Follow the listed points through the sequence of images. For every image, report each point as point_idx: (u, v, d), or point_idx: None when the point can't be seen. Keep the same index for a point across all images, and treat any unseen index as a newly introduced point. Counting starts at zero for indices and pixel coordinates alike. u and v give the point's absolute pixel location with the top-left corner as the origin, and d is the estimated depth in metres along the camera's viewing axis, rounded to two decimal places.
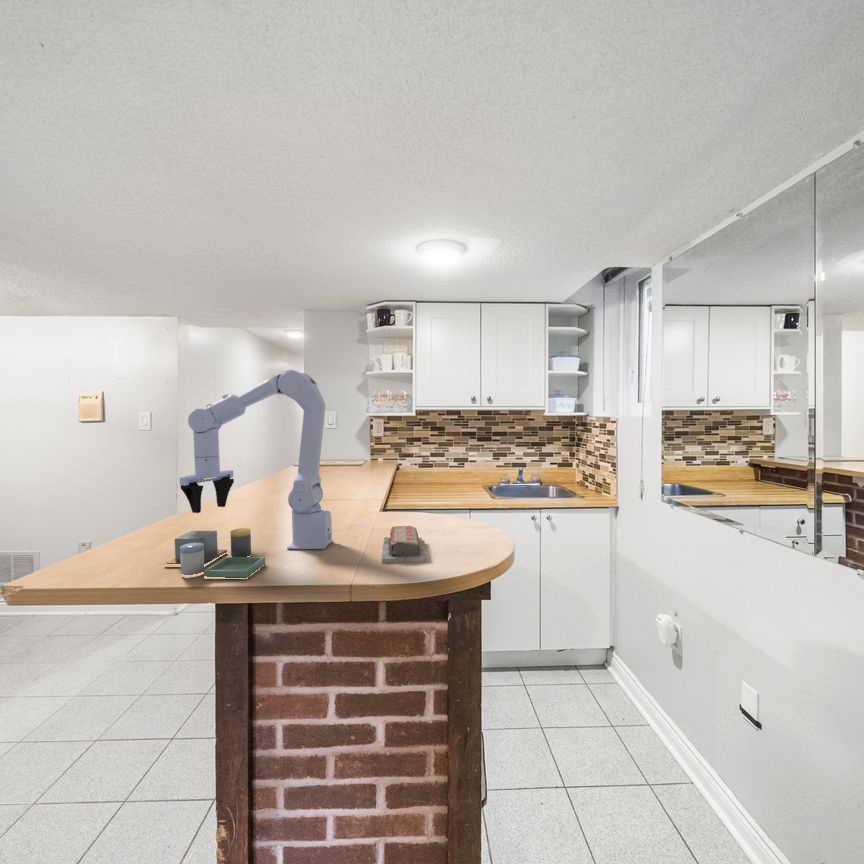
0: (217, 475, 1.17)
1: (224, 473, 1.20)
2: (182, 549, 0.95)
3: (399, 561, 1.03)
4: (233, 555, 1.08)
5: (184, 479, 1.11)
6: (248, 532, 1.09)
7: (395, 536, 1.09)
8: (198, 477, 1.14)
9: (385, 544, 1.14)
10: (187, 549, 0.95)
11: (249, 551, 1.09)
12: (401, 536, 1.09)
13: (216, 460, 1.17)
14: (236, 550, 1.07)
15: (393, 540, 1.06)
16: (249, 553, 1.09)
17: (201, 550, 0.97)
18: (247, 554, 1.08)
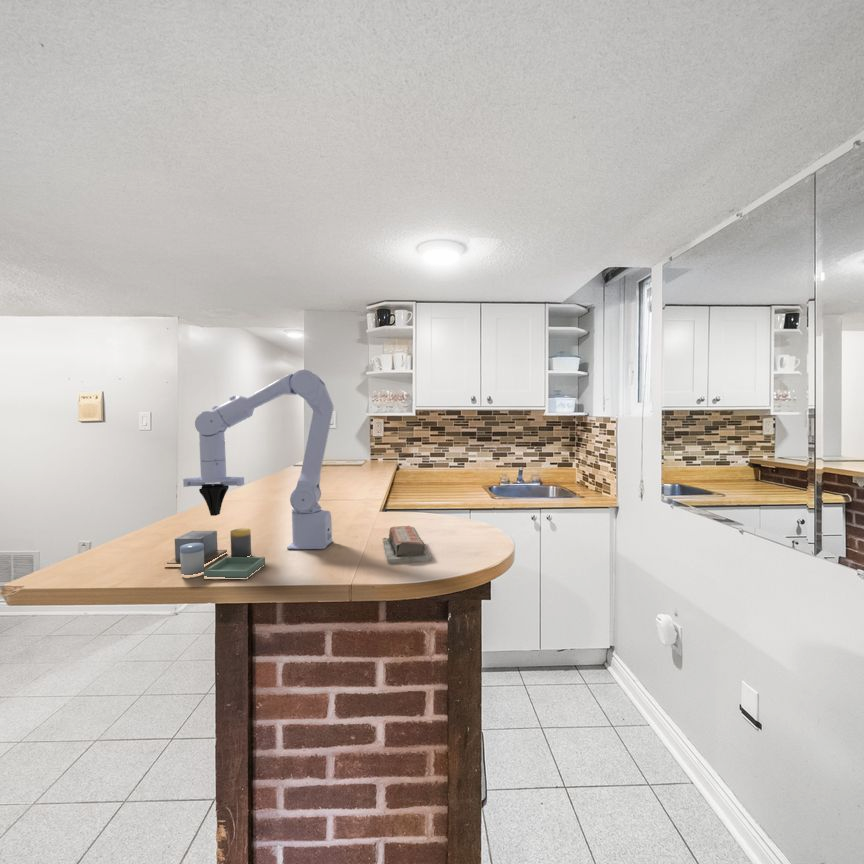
0: (208, 481, 1.12)
1: (223, 480, 1.13)
2: (182, 549, 0.95)
3: (405, 561, 1.03)
4: (233, 555, 1.08)
5: None
6: (248, 532, 1.09)
7: (398, 536, 1.09)
8: (193, 480, 1.13)
9: (386, 545, 1.13)
10: (187, 549, 0.95)
11: (249, 551, 1.09)
12: (404, 536, 1.09)
13: (209, 465, 1.12)
14: (236, 550, 1.07)
15: (397, 540, 1.05)
16: (249, 553, 1.09)
17: (201, 550, 0.97)
18: (247, 554, 1.08)
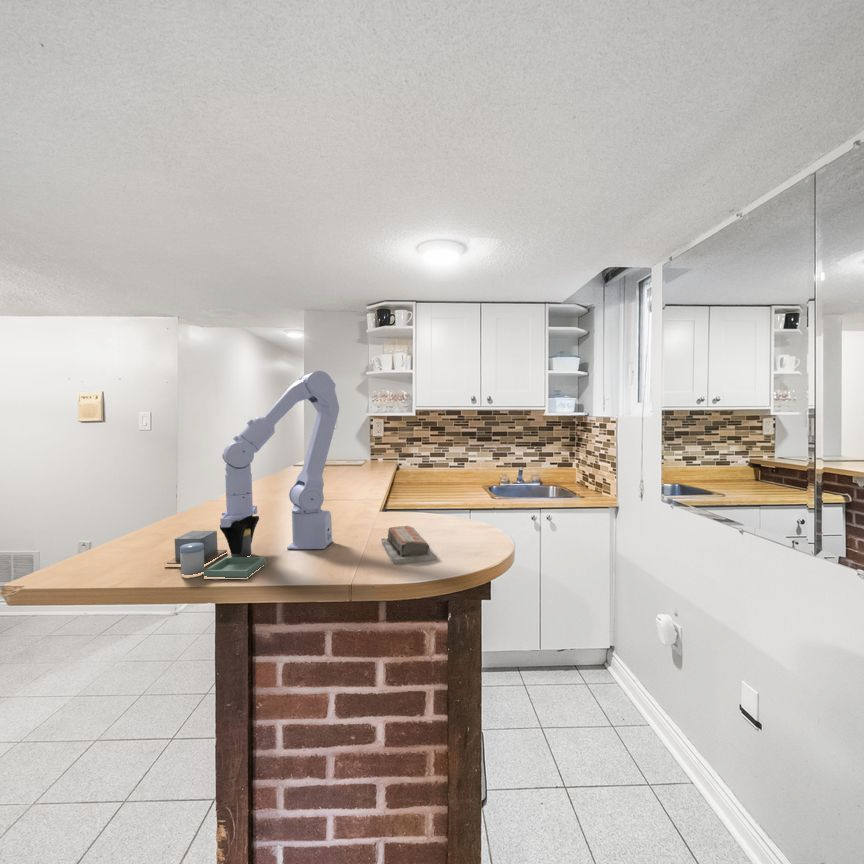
0: (253, 513, 1.09)
1: (254, 510, 1.13)
2: (182, 549, 0.95)
3: (410, 561, 1.03)
4: (233, 555, 1.08)
5: (227, 520, 1.02)
6: (248, 532, 1.09)
7: (401, 536, 1.09)
8: (238, 517, 1.05)
9: (387, 545, 1.13)
10: (187, 549, 0.95)
11: (249, 551, 1.09)
12: (406, 536, 1.09)
13: (251, 497, 1.09)
14: None
15: (402, 540, 1.05)
16: (249, 553, 1.09)
17: (201, 550, 0.97)
18: (247, 554, 1.08)
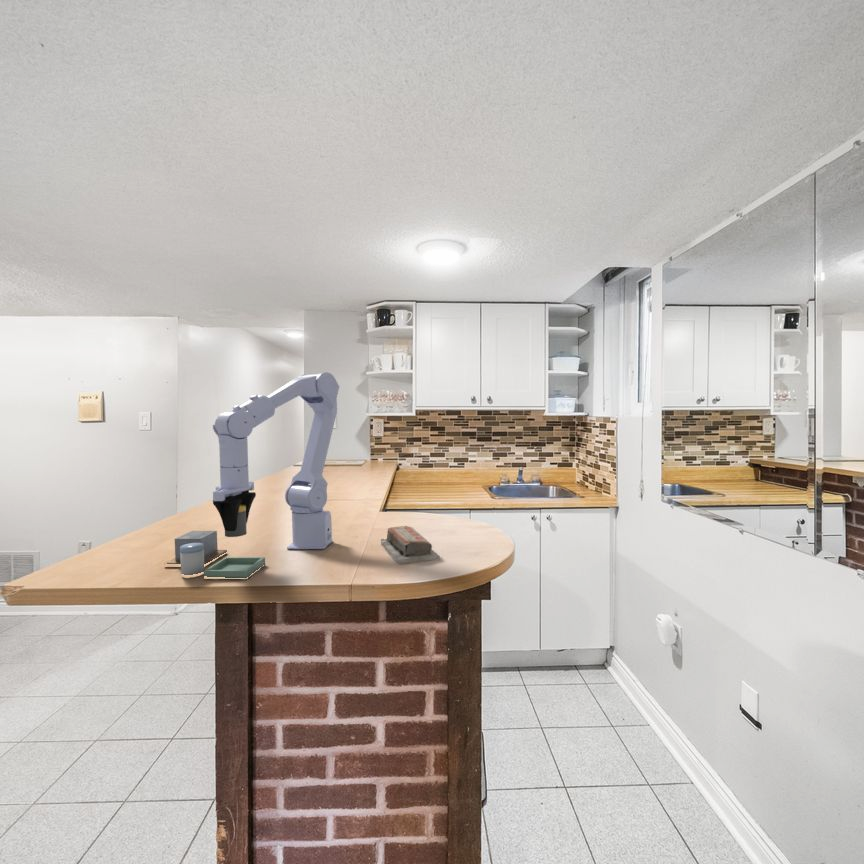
0: (248, 488, 1.02)
1: (250, 485, 1.05)
2: (182, 549, 0.95)
3: (414, 561, 1.03)
4: (227, 532, 1.00)
5: (220, 494, 0.95)
6: (243, 508, 1.01)
7: (402, 536, 1.09)
8: (233, 491, 0.98)
9: (387, 545, 1.13)
10: (187, 549, 0.95)
11: (244, 529, 1.02)
12: (408, 536, 1.09)
13: (247, 470, 1.02)
14: None
15: (404, 540, 1.05)
16: (244, 531, 1.02)
17: (201, 550, 0.97)
18: (242, 532, 1.01)
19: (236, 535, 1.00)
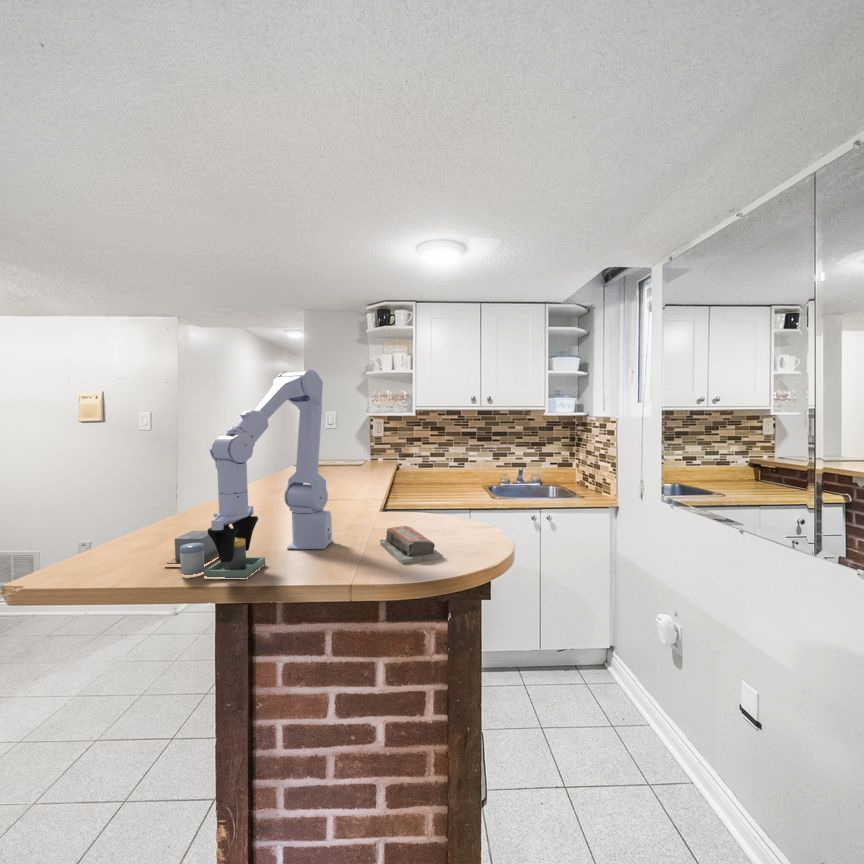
0: (248, 514, 0.98)
1: (250, 510, 1.01)
2: (182, 549, 0.95)
3: (418, 560, 1.03)
4: (226, 568, 0.96)
5: (219, 522, 0.91)
6: (242, 542, 0.98)
7: (405, 536, 1.09)
8: (232, 518, 0.94)
9: (388, 546, 1.12)
10: (187, 549, 0.95)
11: (244, 563, 0.98)
12: (410, 536, 1.09)
13: (246, 496, 0.98)
14: (229, 563, 0.96)
15: (408, 540, 1.05)
16: (244, 566, 0.98)
17: (201, 550, 0.97)
18: (241, 567, 0.97)
19: None
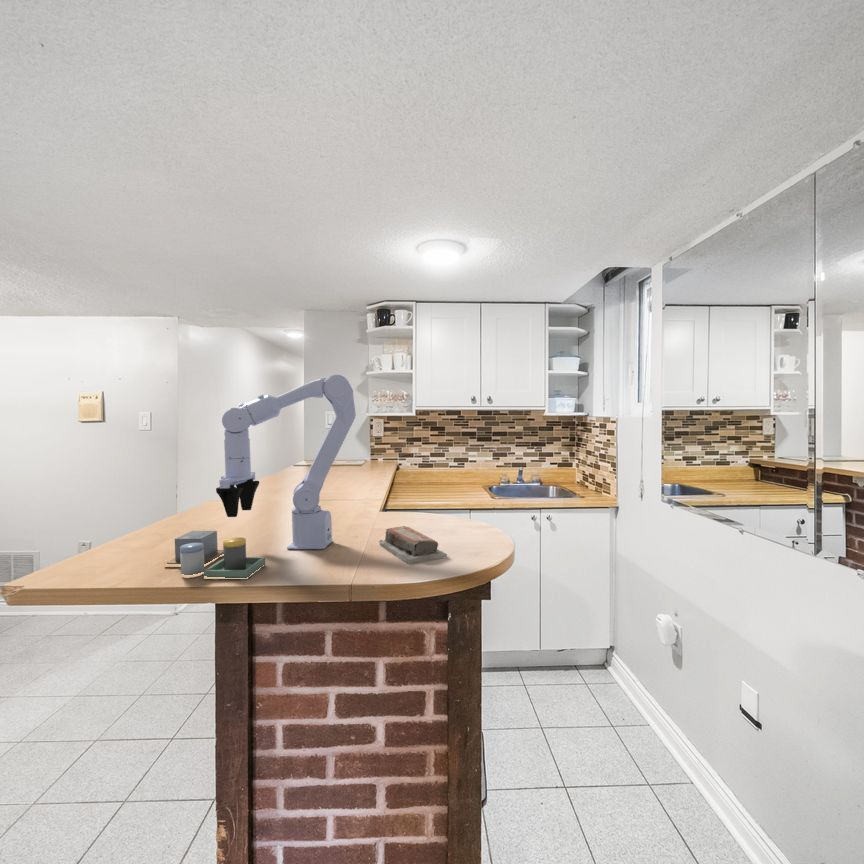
0: (251, 477, 1.13)
1: (252, 475, 1.16)
2: (182, 549, 0.95)
3: (424, 559, 1.03)
4: (226, 568, 0.96)
5: (226, 482, 1.06)
6: (243, 542, 0.98)
7: (407, 536, 1.09)
8: (237, 479, 1.09)
9: (389, 546, 1.12)
10: (187, 549, 0.95)
11: (244, 563, 0.98)
12: (413, 536, 1.09)
13: (249, 461, 1.13)
14: (230, 562, 0.96)
15: (412, 540, 1.05)
16: (244, 565, 0.98)
17: (201, 550, 0.97)
18: (242, 566, 0.97)
19: None
